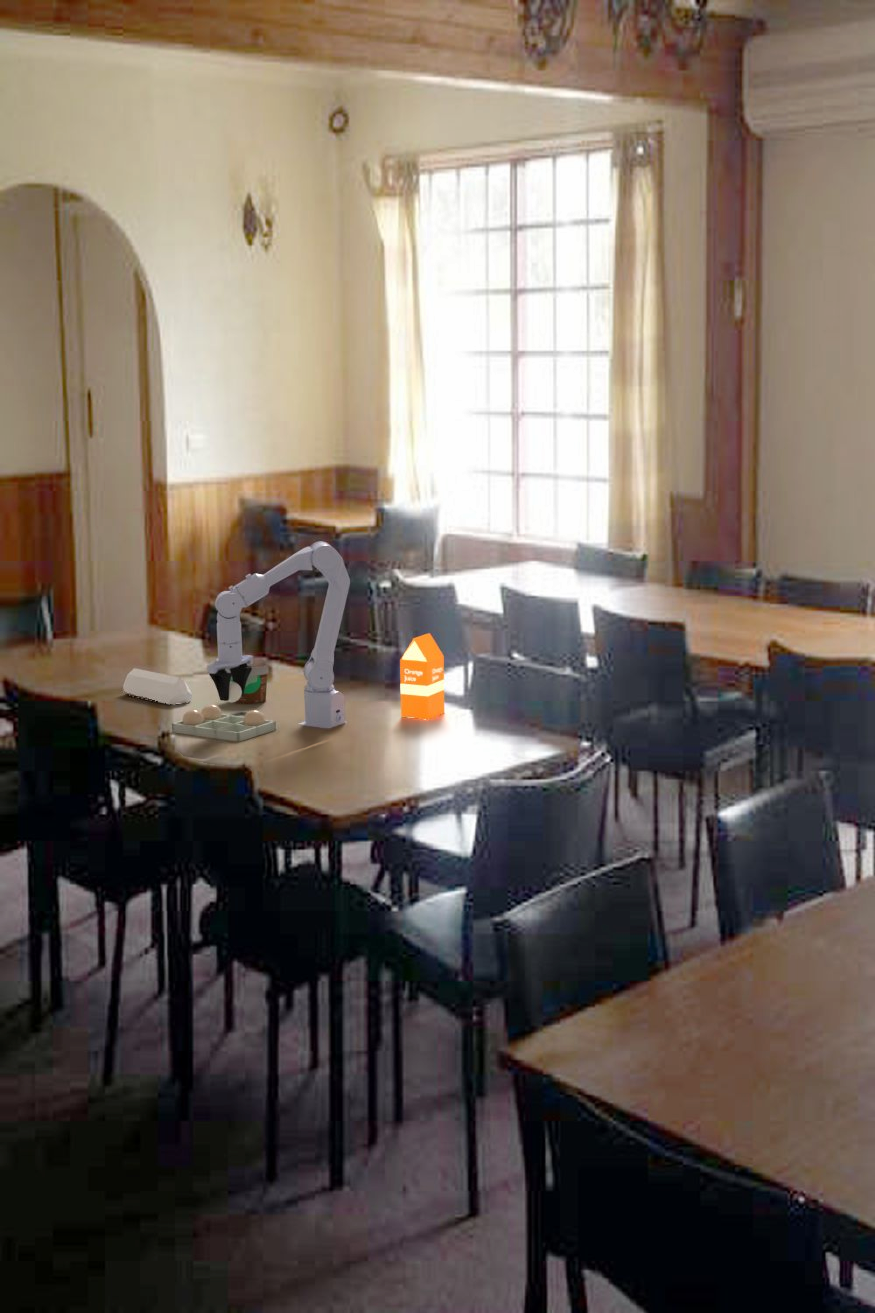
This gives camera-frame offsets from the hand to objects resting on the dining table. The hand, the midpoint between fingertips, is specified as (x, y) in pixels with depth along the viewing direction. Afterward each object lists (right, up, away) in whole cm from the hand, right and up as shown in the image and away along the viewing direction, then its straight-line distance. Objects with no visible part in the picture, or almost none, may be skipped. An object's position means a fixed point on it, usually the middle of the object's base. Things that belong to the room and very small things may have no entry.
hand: (231, 698), depth 392 cm
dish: (+1, -6, +12) cm, 13 cm away
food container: (-1, -2, +31) cm, 31 cm away
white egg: (0, -1, 0) cm, 1 cm away
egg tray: (-2, -8, -1) cm, 9 cm away
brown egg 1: (-9, -8, -1) cm, 12 cm away
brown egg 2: (-5, -7, +5) cm, 10 cm away
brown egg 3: (+6, -8, -2) cm, 10 cm away
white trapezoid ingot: (-24, -2, +39) cm, 46 cm away
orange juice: (+46, -5, +14) cm, 48 cm away
